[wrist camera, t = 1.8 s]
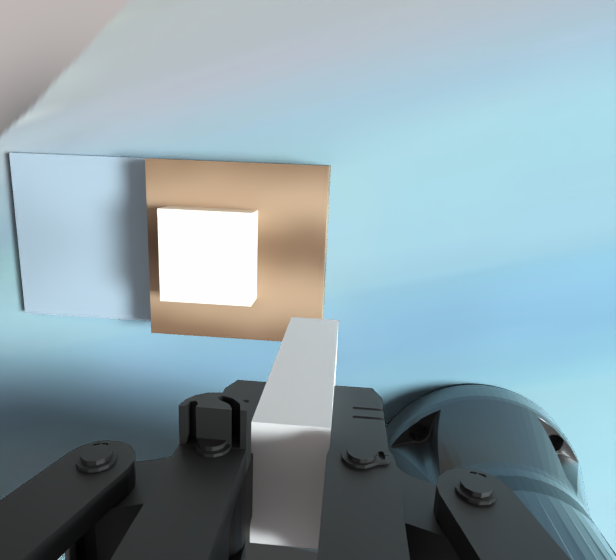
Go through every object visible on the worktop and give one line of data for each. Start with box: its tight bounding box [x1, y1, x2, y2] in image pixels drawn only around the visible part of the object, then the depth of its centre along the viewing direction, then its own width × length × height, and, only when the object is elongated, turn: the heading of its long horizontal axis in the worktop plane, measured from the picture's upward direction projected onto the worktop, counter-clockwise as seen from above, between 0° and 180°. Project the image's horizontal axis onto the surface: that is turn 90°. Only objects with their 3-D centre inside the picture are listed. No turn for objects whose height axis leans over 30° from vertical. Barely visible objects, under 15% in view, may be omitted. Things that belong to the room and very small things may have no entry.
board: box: [145, 158, 331, 341], centre depth 34 cm, size 12×12×3 cm
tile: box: [157, 206, 258, 307], centre depth 32 cm, size 6×6×2 cm
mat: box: [9, 153, 154, 321], centre depth 36 cm, size 12×11×1 cm
